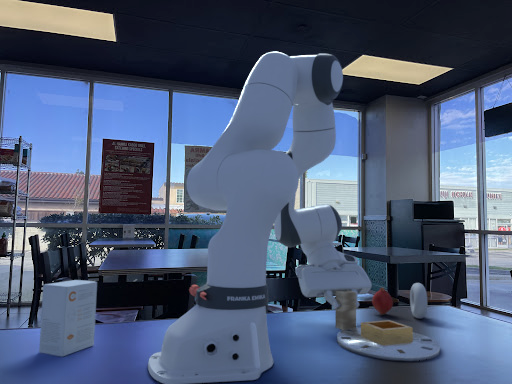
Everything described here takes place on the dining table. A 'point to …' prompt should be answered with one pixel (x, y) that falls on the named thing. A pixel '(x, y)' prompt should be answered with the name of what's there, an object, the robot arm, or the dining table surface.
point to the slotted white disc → (388, 341)
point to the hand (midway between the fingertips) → (347, 307)
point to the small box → (68, 317)
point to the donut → (418, 300)
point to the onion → (382, 301)
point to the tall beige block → (346, 310)
